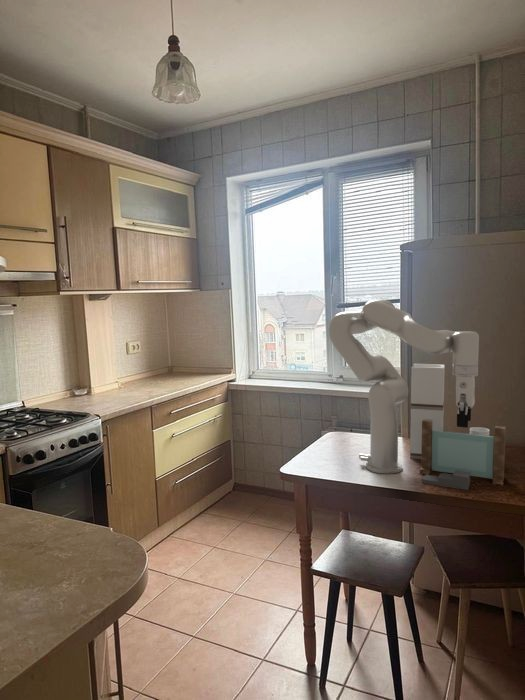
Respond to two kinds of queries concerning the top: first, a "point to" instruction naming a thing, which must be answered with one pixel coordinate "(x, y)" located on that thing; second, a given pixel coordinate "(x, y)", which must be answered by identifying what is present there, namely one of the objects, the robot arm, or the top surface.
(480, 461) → the door
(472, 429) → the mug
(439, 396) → the white block
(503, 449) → the door frame
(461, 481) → the block
